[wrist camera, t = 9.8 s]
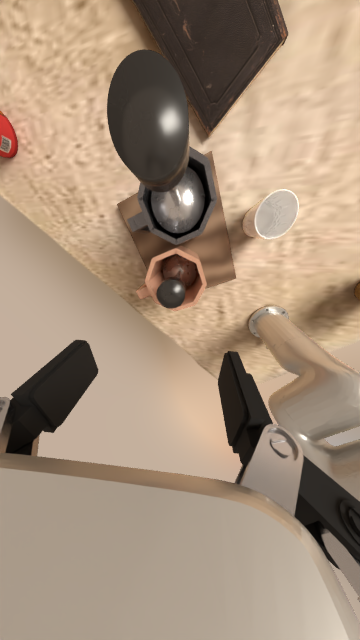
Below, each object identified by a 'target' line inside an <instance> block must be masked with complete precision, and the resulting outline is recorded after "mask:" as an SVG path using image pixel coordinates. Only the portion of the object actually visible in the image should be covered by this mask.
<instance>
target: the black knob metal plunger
mask: <svg viewBox="0 0 360 640" xmlns="http://www.w3.org/2000/svg"><path fill="white" fill-rule="evenodd" d="M163 275H164V278H165V280H163V282H162V283H161V284H160V286H159V287H158V289H157V294H156V295H157V299H158V301H159V303H160V304H161V305H162V306H164V307H166V308H170V309H173V308H177V307H179V306H180V305H181V304H182V303H183V301H184V298H185V291H186V289H185V288H186V287H188V286H190V285H191V284H192V283H193V281H194V279H195V277H196V267H195V264H194V262H192V261H190V260H188V259H186V258H184V257H182V256H180V255H178V254H176V255H173V256H171V257H170V258H169V259H168V260H167V261H166V263H165V265H164V268H163Z"/></svg>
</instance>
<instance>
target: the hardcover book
mask: <svg viewBox="0 0 360 640" xmlns="http://www.w3.org/2000/svg"><path fill="white" fill-rule="evenodd" d="M132 1H133V2H134V4H135V6H136V8H137V9H138V11H139V13H140V15H141V17H142V18H143V20H144V22H145V24H146V26H147V27H148V29H149V31H150V33H151V35H152V36H153V38H154V40H155V42H156V44H157V45H158V47H159V49H160V51H161V52H162V54H163V56H164V58H166V59H167V60H168V61H169V63H170V64H171V65H172V66H173V68H174V69H175V71H176V72H177V74H178V76H179V78H180V80H181V82H182V85H183V88H184V91H185V95H186V97H187V99H188V101H189V103H190V104H191V106H192V108H193V110H194V112H195V113H196V115H197V117H198V119H199V121H200V122H201V124H202V126H203V128H204V130H205V131H206V133H207V135H208V137H210V135H211V134H212V133H213V131H214V130H215V129H216V128H217V126H218V125H219V124H220V123H221V121H222V120H223V119H224V117H225V116H226V115H227V114H228V112H229V111H230V110H231V108H232V107H233V106H234V105H235V103H236V102H237V101H238V100H239V98H240V97H241V96H242V94H243V93H244V92H245V91H246V89H247V88H248V87H249V85H250V84H251V83H252V82H253V80H254V79H255V78H256V77H257V75H258V74H259V73H260V71H261V70H262V69H263V68H264V66H265V65H266V64H267V62H268V61H269V60H270V59H271V57H272V56H273V55H274V54H275V52H276V51H277V50H278V48H279V47H280V46H281V45H282V44H284V43H285V40H286V38H287V36H288V31H287V27H286V24H285V21H284V18H283V15H282V12H281V9H280V6H279V3H278V0H132Z"/></svg>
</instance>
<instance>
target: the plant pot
mask: <svg viewBox="0 0 360 640" xmlns="http://www.w3.org/2000/svg"><path fill="white" fill-rule="evenodd" d="M354 294H355V296H356V297H357V298H358V299H359V300H360V282H359V283H358V285H357V286H356V288H355V291H354Z"/></svg>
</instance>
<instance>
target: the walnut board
mask: <svg viewBox="0 0 360 640" xmlns="http://www.w3.org/2000/svg"><path fill="white" fill-rule="evenodd" d="M204 156H206V157H207V158H208V160H210V165H211V170H212V175H213V180H214V185H215V190H216V195H217V202H216V205H215V207H214V209H213V211H212V213H211V216H210V218H209V220H208V222H207V225H206V227H205V229H204V231H203V233H202V234H201V235H199V236H198V237H195V238H193V239H191V240H188V241H186V242H184V243H181V244H178V245H175V244H173V243H171V242H169V241H167V240H165V239H163V238H161V237H159V236H157V235H155V234H153V233H151V232H150V233H148V234H143V233H136V232H132V230H131V228H130V225H129V223H128V221H127V219H129V218H131V217H133V216H135V215H136V214H138V213H140V212H142V210H141V208H140V205H139V203H138V200H137V199H138V198H137V196H138V193H136V194H134V195H133V196H131V197H129V198H127V199H126V200H124V201H122V202H120V203H118V204H117V205H118V208H119V210H120V212H121V214H122V216H123V218H124V221H125V223H126V225H127V227H128V229H129V231H130V233H131V236H132V238H133V240H134V242H135V244H136V246H137V249H138V251H139V253H140V255H141V257H142V259H143V261H144V264H145V266H146V268H147V270H148V269H149V266H150V263H151V260H152V258H154V257H156V256H158V255H160V254H163V253H165V252H167V251H169V250H172V249H174V248H176V247H179V246H183V247H185V248H187V249H190V250H191V251H193V252H195V253H197V254H198V257H199V259H200V262H201V266H202V269H203V272H204V276H205V279H206V283H207V286H206V287H205V289H206V288H209V287H212V286H215V285H218V284H221V283H224V282H226V281H229V280H232V279H235V278H236V275H235V269H234V264H233V259H232V254H231V249H230V243H229V238H228V233H227V228H226V223H225V218H224V212H223V207H222V202H221V197H220V192H219V186H218V181H217V176H216V171H215V166H214V161H213V155H212V151H210V152H209V153H207V154H205V155H204Z"/></svg>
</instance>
